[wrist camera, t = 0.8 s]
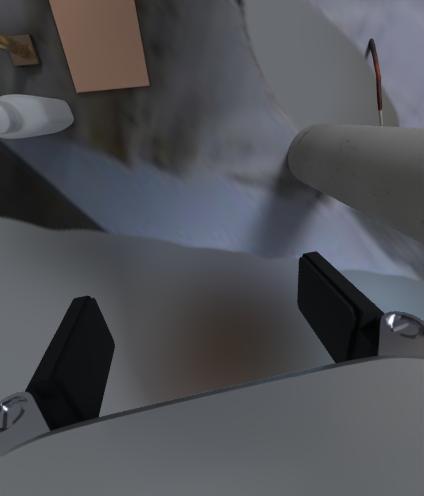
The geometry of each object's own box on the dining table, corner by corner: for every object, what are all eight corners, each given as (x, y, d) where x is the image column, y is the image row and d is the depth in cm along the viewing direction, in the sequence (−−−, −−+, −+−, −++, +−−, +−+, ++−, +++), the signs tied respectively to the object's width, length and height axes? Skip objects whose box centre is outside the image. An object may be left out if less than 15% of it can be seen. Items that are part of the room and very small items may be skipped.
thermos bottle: (331, 110, 33) (777, 97, 9) (348, 162, 37) (697, 256, 13) (278, 145, 35) (546, 222, 10) (300, 193, 38) (534, 334, 14)
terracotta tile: (49, -3, 25) (47, -6, 24) (132, -9, 25) (132, -11, 25) (78, 92, 29) (76, 92, 28) (149, 85, 29) (149, 85, 29)
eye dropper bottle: (73, 143, 31) (24, 158, 20) (20, 129, 29) (-62, 137, 19) (76, 104, 29) (23, 98, 19) (20, 86, 28) (-71, 69, 17)
